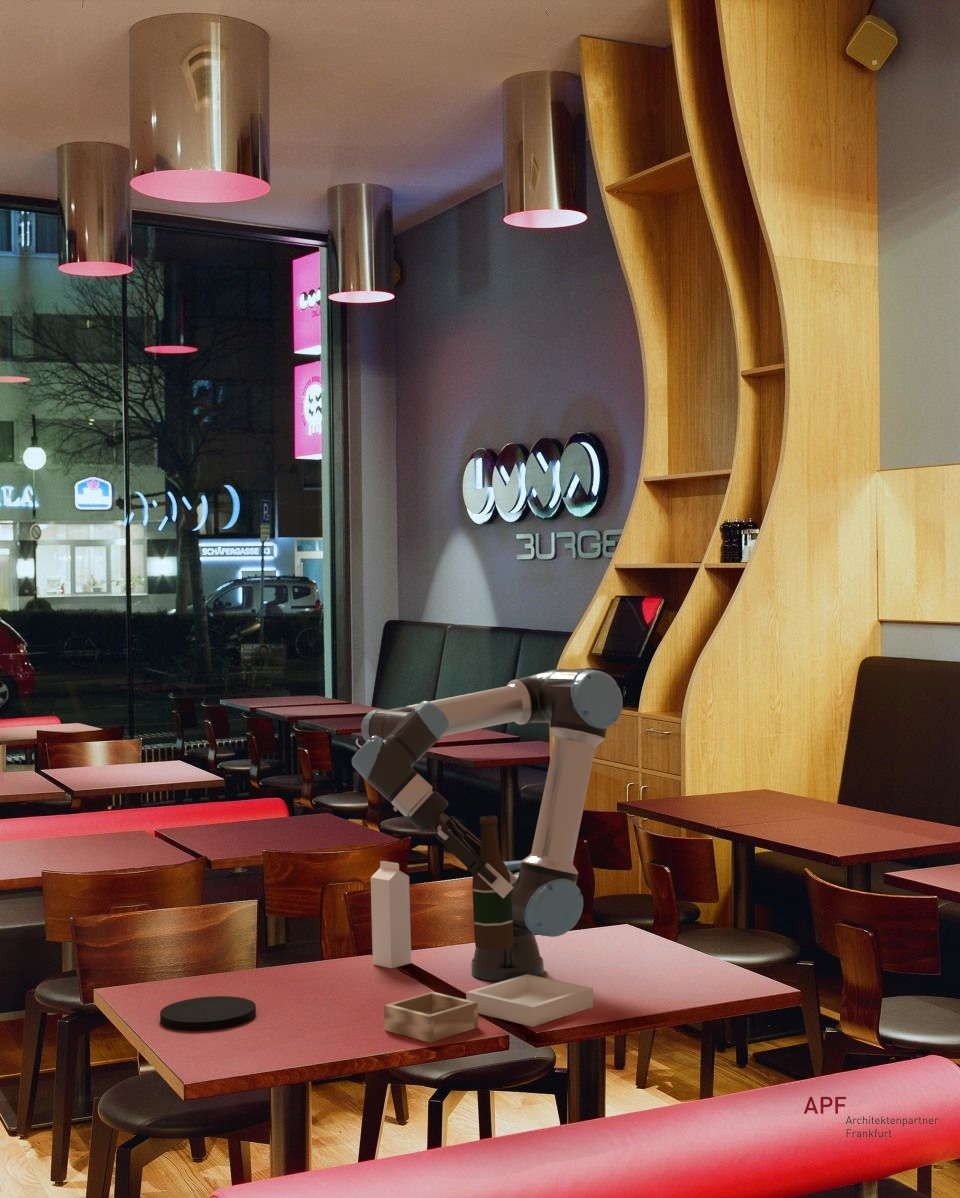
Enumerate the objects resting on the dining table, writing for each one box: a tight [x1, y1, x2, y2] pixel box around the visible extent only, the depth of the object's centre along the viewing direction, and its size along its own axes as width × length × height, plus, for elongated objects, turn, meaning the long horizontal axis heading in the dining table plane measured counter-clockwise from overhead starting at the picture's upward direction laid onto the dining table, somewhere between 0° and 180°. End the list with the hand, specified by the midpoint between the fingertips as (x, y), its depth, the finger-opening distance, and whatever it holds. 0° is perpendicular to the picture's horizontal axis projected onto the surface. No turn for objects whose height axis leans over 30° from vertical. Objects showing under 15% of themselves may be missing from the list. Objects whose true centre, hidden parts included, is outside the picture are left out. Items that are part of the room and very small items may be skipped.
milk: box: [370, 860, 412, 969], centre depth 304 cm, size 6×6×22 cm
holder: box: [383, 991, 479, 1043], centre depth 255 cm, size 12×12×4 cm
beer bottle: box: [471, 815, 513, 950], centre depth 262 cm, size 8×8×24 cm
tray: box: [465, 974, 594, 1028], centre depth 266 cm, size 17×17×4 cm
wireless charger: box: [159, 995, 257, 1032], centre depth 266 cm, size 18×18×2 cm
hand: (510, 888), depth 262 cm, fingers closed on beer bottle, 7 cm apart
